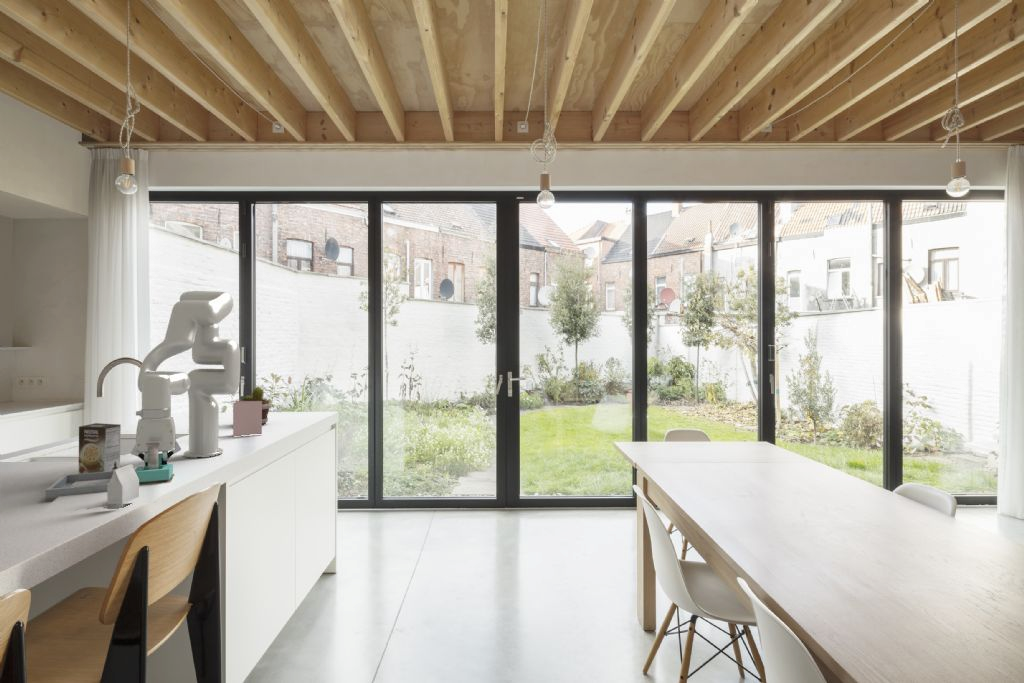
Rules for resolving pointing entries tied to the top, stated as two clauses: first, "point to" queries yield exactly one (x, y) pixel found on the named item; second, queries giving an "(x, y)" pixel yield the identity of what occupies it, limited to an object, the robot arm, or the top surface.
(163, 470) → the collar
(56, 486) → the tray
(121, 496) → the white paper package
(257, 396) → the flowerpot
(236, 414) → the greeting card
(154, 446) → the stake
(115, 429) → the coffee box
